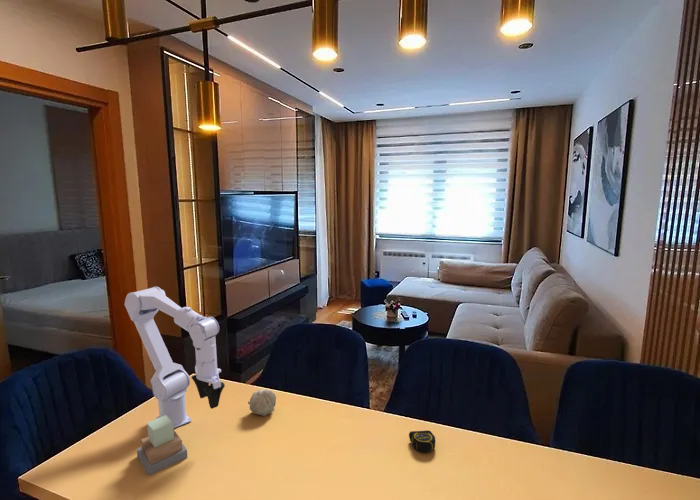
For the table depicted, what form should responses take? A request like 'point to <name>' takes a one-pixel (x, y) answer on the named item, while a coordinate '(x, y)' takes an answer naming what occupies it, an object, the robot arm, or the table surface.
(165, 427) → the green cube
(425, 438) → the tape measure
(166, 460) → the tower base
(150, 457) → the tower top
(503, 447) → the table surface
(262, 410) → the garlic bulb
